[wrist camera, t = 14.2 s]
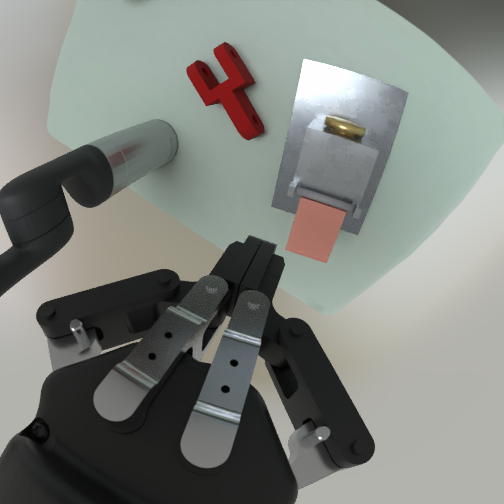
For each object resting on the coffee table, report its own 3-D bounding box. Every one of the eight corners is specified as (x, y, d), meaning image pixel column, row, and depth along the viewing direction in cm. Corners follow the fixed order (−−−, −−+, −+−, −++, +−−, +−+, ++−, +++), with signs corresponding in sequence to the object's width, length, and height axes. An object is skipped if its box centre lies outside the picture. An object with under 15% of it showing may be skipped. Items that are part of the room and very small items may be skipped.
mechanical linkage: (197, 66, 37) (181, 66, 33) (231, 44, 34) (218, 40, 30) (242, 142, 43) (231, 149, 39) (279, 124, 40) (272, 129, 36)
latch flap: (282, 245, 39) (281, 248, 38) (299, 185, 34) (298, 188, 33) (330, 261, 38) (330, 264, 37) (353, 203, 33) (353, 206, 32)
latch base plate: (271, 205, 48) (251, 240, 39) (304, 59, 32) (289, 48, 23) (357, 234, 46) (357, 276, 37) (407, 92, 30) (430, 95, 21)
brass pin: (304, 199, 43) (298, 214, 39) (327, 113, 34) (324, 117, 30) (337, 210, 42) (335, 226, 38) (364, 126, 33) (367, 131, 29)
